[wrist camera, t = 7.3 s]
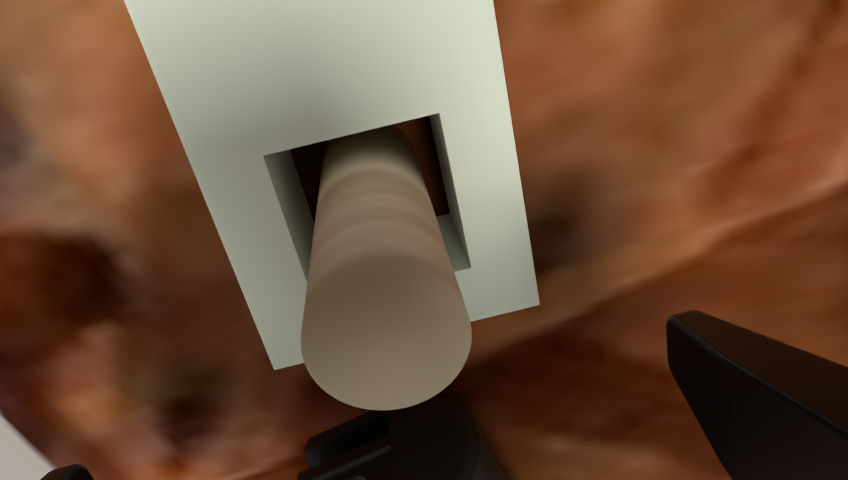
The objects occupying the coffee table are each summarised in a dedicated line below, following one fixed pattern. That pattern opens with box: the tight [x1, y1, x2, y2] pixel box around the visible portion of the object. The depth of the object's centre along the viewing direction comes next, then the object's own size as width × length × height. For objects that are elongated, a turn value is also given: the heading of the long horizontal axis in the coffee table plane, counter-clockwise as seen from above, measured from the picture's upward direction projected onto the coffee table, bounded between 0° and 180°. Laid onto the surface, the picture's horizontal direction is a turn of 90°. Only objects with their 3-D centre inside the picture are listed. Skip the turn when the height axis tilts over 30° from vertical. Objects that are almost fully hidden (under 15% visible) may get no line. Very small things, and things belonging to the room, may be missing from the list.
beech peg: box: [301, 125, 472, 410], centre depth 15 cm, size 3×3×10 cm
